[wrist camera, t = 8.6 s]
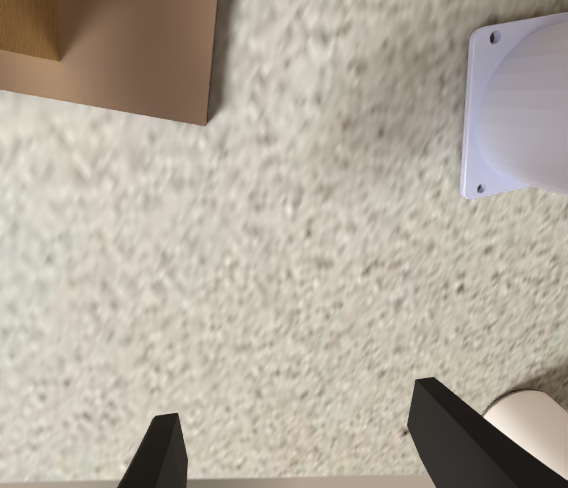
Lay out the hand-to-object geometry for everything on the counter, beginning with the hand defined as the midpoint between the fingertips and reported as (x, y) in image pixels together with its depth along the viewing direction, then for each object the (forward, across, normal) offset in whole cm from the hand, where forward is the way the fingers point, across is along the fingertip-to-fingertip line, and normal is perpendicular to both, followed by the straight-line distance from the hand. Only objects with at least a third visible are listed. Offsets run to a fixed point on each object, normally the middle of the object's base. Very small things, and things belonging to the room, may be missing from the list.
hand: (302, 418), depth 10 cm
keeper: (+9, +9, -15) cm, 20 cm away
